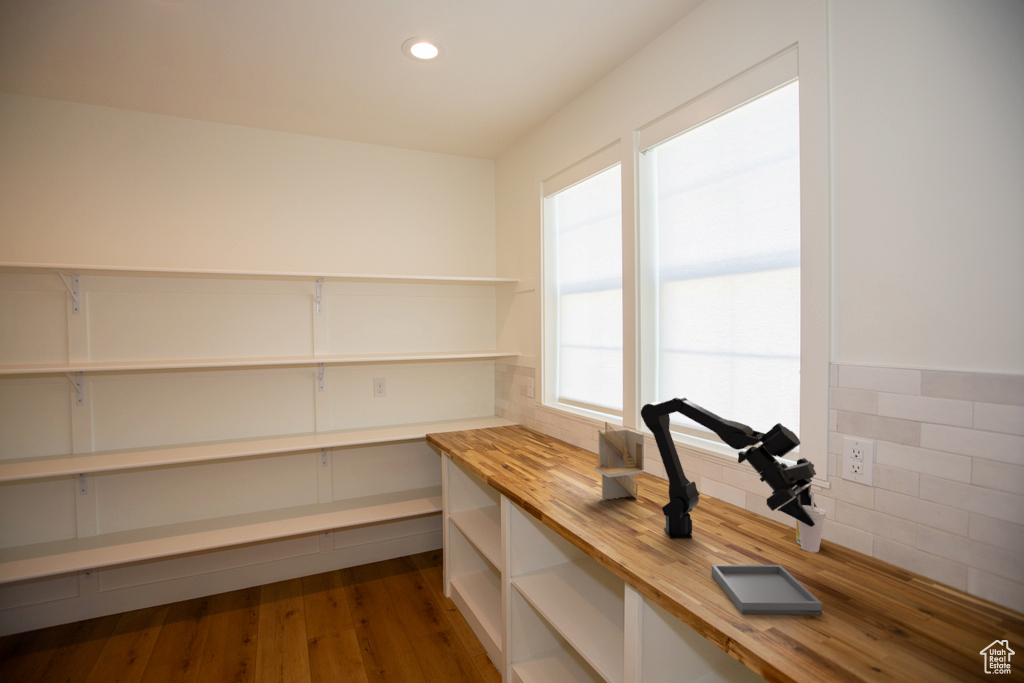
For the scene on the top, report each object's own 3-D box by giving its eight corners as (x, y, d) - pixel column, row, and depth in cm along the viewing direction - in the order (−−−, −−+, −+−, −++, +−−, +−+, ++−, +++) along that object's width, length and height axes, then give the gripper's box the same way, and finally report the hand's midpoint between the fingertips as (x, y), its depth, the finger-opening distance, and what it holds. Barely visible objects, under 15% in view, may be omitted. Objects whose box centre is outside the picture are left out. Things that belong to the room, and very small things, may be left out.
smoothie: (810, 556, 114) (811, 497, 114) (788, 544, 121) (789, 489, 120) (832, 552, 116) (832, 495, 116) (809, 541, 122) (809, 486, 122)
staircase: (649, 505, 167) (649, 421, 166) (608, 512, 161) (608, 425, 161) (632, 496, 176) (632, 417, 176) (593, 502, 170) (593, 420, 170)
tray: (741, 614, 102) (741, 602, 102) (711, 574, 118) (711, 564, 118) (822, 614, 101) (822, 603, 101) (780, 575, 118) (780, 564, 118)
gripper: (781, 456, 114) (836, 515, 106) (803, 443, 127) (853, 494, 120) (746, 482, 120) (795, 539, 112) (770, 466, 133) (816, 517, 125)
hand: (816, 521), depth 117 cm, fingers closed on smoothie, 6 cm apart
